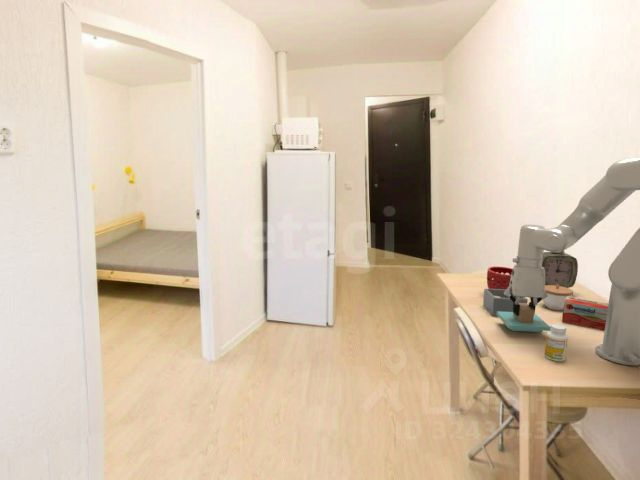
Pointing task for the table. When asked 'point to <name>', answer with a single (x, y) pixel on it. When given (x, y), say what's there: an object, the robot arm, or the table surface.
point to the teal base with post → (523, 320)
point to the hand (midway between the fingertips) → (523, 314)
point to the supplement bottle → (556, 343)
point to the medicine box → (585, 313)
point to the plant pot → (498, 277)
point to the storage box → (499, 301)
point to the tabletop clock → (560, 269)
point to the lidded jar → (556, 296)
